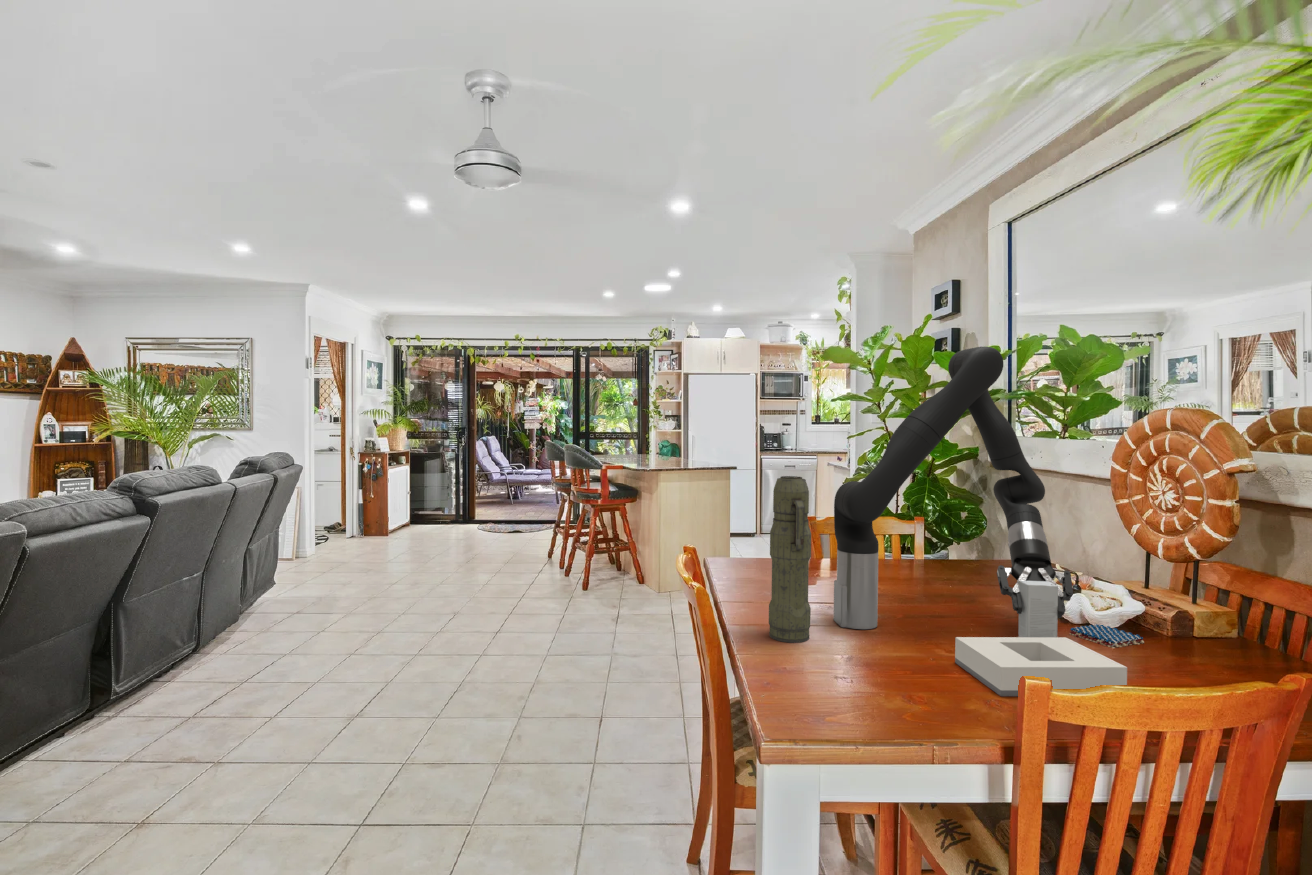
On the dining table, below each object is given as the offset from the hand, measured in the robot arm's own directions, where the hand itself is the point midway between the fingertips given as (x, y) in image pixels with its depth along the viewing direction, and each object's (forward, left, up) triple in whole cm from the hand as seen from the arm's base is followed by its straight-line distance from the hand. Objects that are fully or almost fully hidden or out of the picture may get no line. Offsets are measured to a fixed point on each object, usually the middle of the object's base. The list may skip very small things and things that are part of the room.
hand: (1039, 613), depth 133 cm
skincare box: (0, +2, -6) cm, 6 cm away
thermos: (-49, +10, -8) cm, 51 cm away
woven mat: (+21, +9, -9) cm, 24 cm away
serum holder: (-9, -14, -8) cm, 18 cm away
